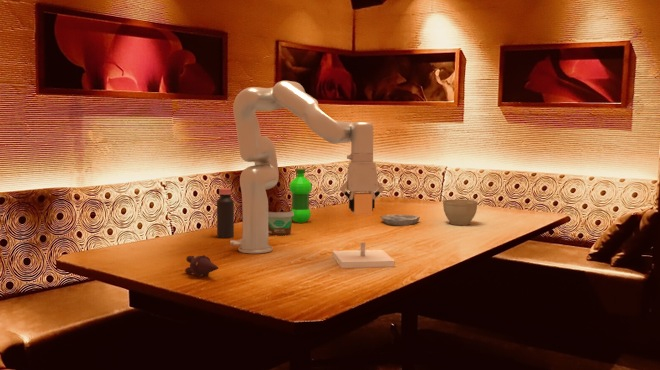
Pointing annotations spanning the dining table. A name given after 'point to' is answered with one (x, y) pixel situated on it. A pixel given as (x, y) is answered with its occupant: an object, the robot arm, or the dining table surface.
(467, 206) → the planter bowl
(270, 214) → the food container
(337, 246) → the dining table surface
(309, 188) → the plastic bottle
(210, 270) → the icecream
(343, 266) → the post board
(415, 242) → the dining table surface
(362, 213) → the orange block
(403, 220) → the grey stone plate
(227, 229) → the vinegar
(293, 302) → the dining table surface
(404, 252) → the dining table surface
